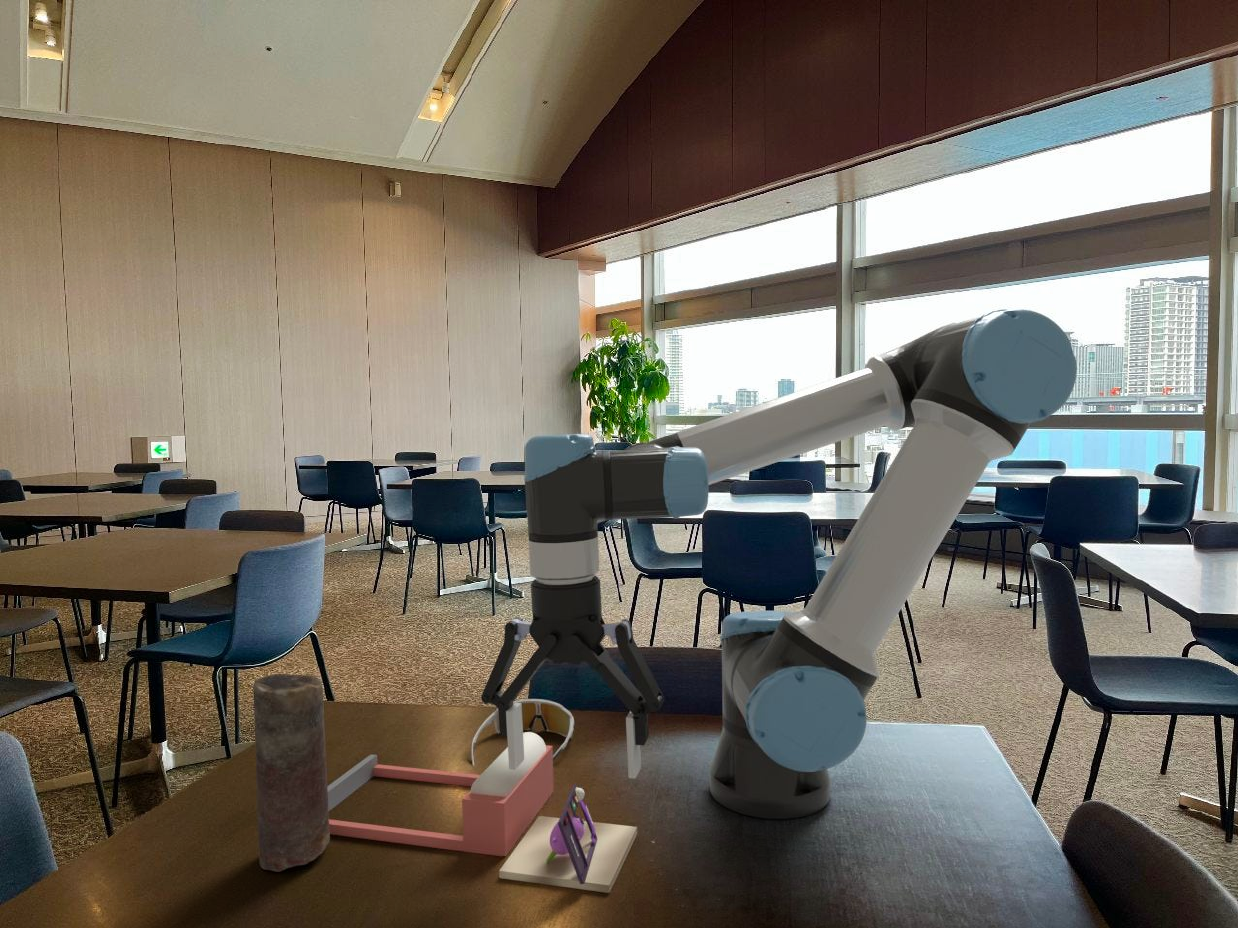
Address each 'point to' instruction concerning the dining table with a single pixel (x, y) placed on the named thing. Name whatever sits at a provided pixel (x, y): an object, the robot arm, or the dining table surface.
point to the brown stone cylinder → (290, 770)
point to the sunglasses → (548, 711)
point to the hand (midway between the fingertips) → (574, 768)
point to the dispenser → (463, 801)
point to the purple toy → (573, 834)
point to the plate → (560, 871)
